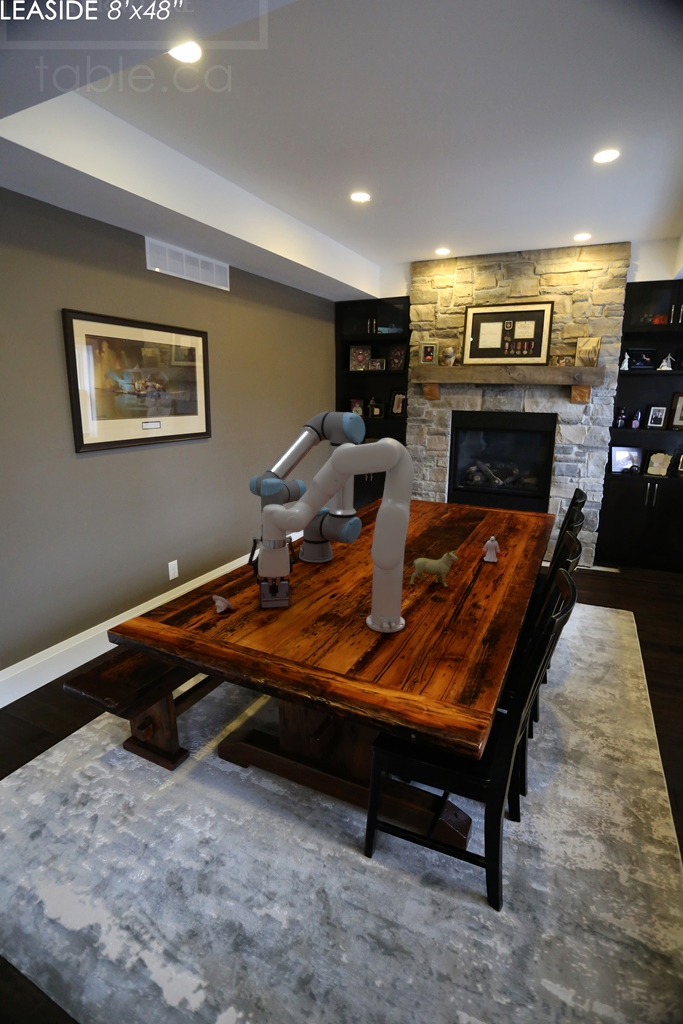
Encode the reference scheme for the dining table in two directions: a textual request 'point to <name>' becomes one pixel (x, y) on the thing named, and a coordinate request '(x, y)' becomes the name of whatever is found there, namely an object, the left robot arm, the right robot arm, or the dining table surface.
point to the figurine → (491, 550)
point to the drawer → (274, 601)
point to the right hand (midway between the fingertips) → (273, 594)
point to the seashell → (221, 603)
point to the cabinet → (261, 589)
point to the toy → (434, 567)
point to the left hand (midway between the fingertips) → (273, 582)
